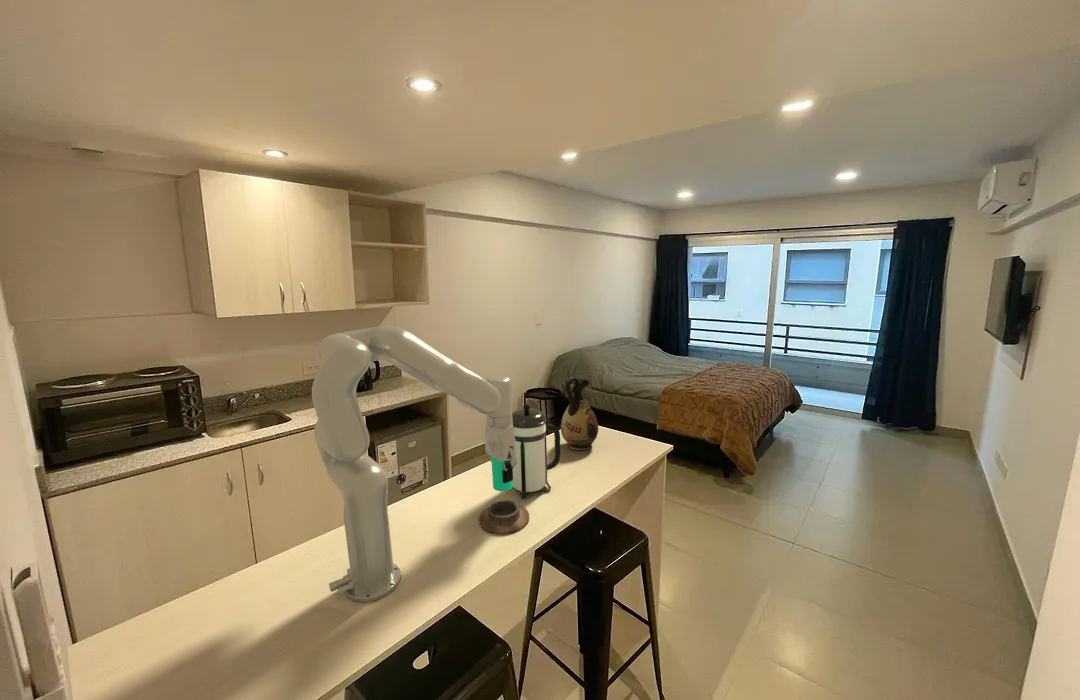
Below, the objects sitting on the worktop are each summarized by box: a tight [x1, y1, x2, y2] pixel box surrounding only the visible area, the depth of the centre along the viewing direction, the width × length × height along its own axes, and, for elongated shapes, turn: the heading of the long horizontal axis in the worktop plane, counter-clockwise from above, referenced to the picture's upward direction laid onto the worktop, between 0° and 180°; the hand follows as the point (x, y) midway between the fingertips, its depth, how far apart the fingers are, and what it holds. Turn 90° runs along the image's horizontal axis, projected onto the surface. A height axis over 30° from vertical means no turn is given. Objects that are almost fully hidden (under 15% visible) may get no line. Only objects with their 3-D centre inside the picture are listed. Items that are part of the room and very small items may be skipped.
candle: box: [491, 456, 514, 492], centre depth 127 cm, size 6×6×12 cm
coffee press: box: [512, 403, 561, 500], centre depth 146 cm, size 17×16×30 cm
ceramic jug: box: [560, 376, 599, 454], centre depth 178 cm, size 17×15×30 cm
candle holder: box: [478, 499, 530, 536], centre depth 130 cm, size 15×15×4 cm
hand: (502, 477), depth 128 cm, fingers closed on candle, 4 cm apart
